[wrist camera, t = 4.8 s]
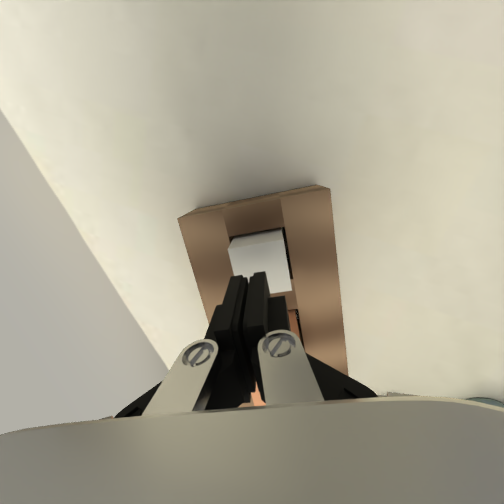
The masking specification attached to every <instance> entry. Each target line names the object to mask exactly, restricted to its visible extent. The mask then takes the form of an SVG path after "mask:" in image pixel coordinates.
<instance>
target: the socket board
mask: <svg viewBox="0 0 504 504" xmlns="http://www.w3.org/2000/svg"><path fill="white" fill-rule="evenodd" d="M178 223H179V226H180V229H181V233H182V236H183V239H184V243H185V246H186V249H187V253H188V256H189V259H190V263H191V266H192V269H193V273H194V276H195V279H196V282H197V286H198V289H199V292H200V296H201V299H202V302H203V306H204V309H205V312H206V316H207V319H208V322H209V324H210V321H211V318H212V316H213V313H214V310H215V307H216V305H221V304H222V302H223V299H224V296H225V293H226V290H227V287H228V283H229V280H230V277H231V276H234V273H233V269H232V265H231V261H230V257H229V253H228V248H229V246H230V244H231V242H232V240H233V238H234V236H235V235H241V234H246V233H252V232H257V231H263V230H268V229H274V228H279V227H284V233H285V239H286V245H287V251H288V257H289V259H287V263H288V269H289V275H290V281H291V287H292V291H285V292H278V293H272V294H270V296H271V297H277V296H284V295H285V298H286V304H287V309H288V310H292V309H297V312H298V318H299V319H298V320H297V324H298V329H299V335H300V340H301V344H302V346H303V349H304V351H305V353H307V354H309V355H311V356H313V357H314V358H316V359H318V360H320V361H322V362H323V363H325V364H327V365H329V366H331V367H332V368H334V369H336V370H338V371H340V372H341V373H343V374H345V375H347V376H348V367H347V357H346V346H345V336H344V326H343V316H342V305H341V295H340V285H339V275H338V264H337V254H336V244H335V234H334V224H333V213H332V203H331V193H330V189H329V188H326V187H323V186H319V185H314V186H309V187H304V188H299V189H294V190H289V191H284V192H279V193H274V194H269V195H264V196H259V197H254V198H249V199H244V200H239V201H234V202H229V203H224V204H219V205H214V206H209V207H204V208H198V209H195V210H193V211H191V212H189V213H187V214H185V215H183V216H181V217H180V218H178ZM251 406H254V403H253V399H252V395H251V401H250V403H242V404H241V405H240V406H239V407H251ZM239 407H238V408H239Z"/></svg>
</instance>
